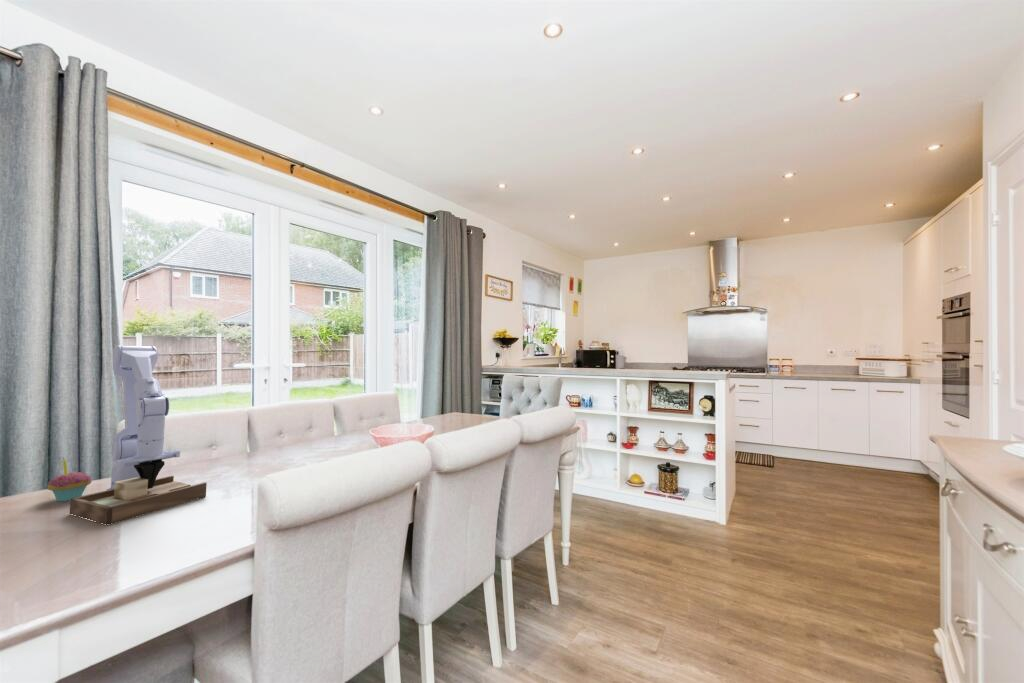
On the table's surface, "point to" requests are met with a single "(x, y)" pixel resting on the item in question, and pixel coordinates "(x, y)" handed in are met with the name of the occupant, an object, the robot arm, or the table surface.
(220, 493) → the table surface
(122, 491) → the birch block
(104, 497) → the trap track
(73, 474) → the cupcake
